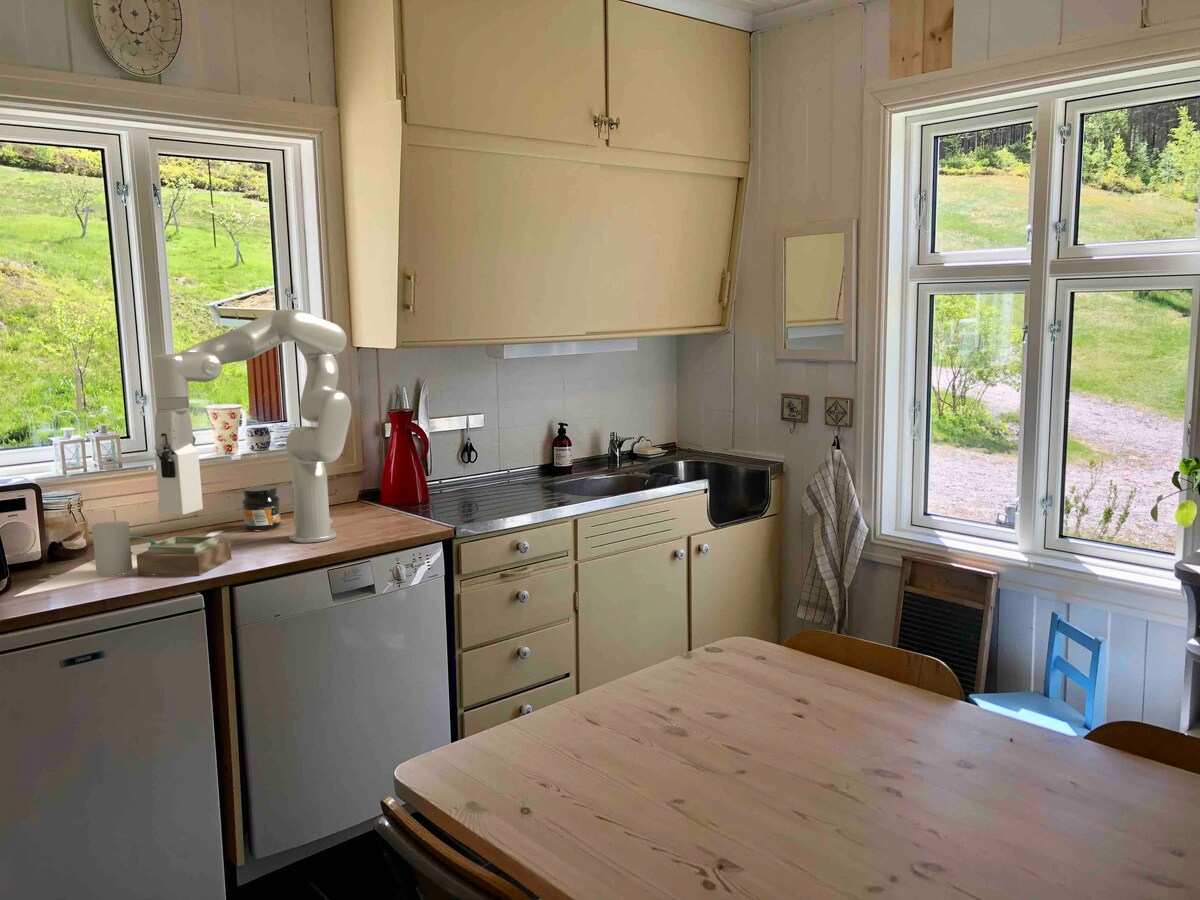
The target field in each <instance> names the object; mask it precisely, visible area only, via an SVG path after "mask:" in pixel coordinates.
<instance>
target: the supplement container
mask: <svg viewBox="0 0 1200 900" xmlns="http://www.w3.org/2000/svg"><path fill="white" fill-rule="evenodd" d="M242 492H243V493H242V496H243V497H244V498H243V499H242V500H241V504H242V512H243V527H244V529H245V530H247V531H249V530H253V531H252V532H255V531H254V530H267V531H270V530H269V529H272V530H275V529H274V528H276V529H278V528H279V527H280V526H281V525H282V520H281V508H280V507H281V506H280V501H281V500H280V497H279V496H278V495H277V494H278V487H277V486H275V485H257V486H250V487H246V488H244V489H242ZM277 527H278V528H277Z"/></svg>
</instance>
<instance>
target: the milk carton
mask: <svg viewBox="0 0 1200 900" xmlns="http://www.w3.org/2000/svg"><path fill="white" fill-rule="evenodd" d="M166 444H167V443H166ZM167 445H168V444H167ZM168 446H169V447H170V445H168ZM170 448H171V447H170ZM170 448H166V449H170ZM167 454H168V456H169V453H167ZM199 456H200V455H199V450H198V449H197V448H196V446H195V445H194V446H193V445H192V444H191V443H190V444H189V445H187V446H185V447H183V448H181V449H179V450H176V451H174V455H173V459H172V461H174V465H175V477H174V478H163V477H162V472H161V462H160V461H159V457H158V455H157V452H155V453H154V458H155V459H154V460H155V469H156V481H157V484H156V485H157V493H158V494H157V495H158V503H159V504H158V507H159V513H160V514H168V515H186V514H190V513H194V512H198V511H201V510H203V509H204V506H203V493H202V492H203V491H202V482H201V479H202V478H201V470H200V469H201V468H200V457H199Z"/></svg>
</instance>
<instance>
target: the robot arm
mask: <svg viewBox="0 0 1200 900" xmlns="http://www.w3.org/2000/svg"><path fill="white" fill-rule="evenodd" d="M345 332H346V331H344V329H343V328H342V327H341V326H339V325H338V324H336V323H334V322H332V321H329V320H326V319H324V318H321V317H319V316H317V315H314V314H312V313H309V312H307V311H304V310H301V309H295V308H293V309H292V308H291V309H277V310H273V311H270V312H268V313H266V314H263V315H262V316H260V317H258V318H256V319H254V320H252V321H250V322H248V323H246V324H243V325H242V326H240V327H237V328H235V329H233V330H230V331H229V330H228V331H226V332H224V333H221V334H220V335H217V336H213V337H211V338H208V339H205V340H203V341H201V342H198V343H195V344H194V345H192V346H190V347H188V348H186V349H184V350H181V351H179V353H165V354H157V355H155V356H153V357H152V362H151V363H152V373H153V385H154V397H155V398H154V399H155V410H156V411H155V417H154V443H155V445H154V449H155V451H156V452H157V455H158V457H159V461H160V462H161V472H162V477H163V478H174V477H175V465H174V461H172V459H173V455H174V451H176V450H179V449H181V448H183V447H185V446H187V445H189V444H190V443H191V444H192V445H193V446H194V447H195V443H196V436H194V434H193V433H194V432H193V425H192V420H191V414H190V397H189V385H188V383H189V382H195V383H208V382H209V383H210V382H213V381H214V380H216V379H217V378H218V377H219V376H220V375H221V373H222V368H223V367H222V366H223V365H226V364H232V363H238V362H243V361H244V362H245V361H249V360H251V359H254V358H256V357H258V356H260V355H262V354H264V353H266V352H268V351H270V350H272V349H274V348H276V347H277V346H279V345H281V344H283V343H286V342H295V344H296V347H297V348H298V350H299V351H300V353H301V354H302V356H303V358H304V360H305V362H306V368H307V369H306V370H307V372H306V376H305V377H306V378H305V382H304V385H303V389H302V394H301V398H300V401H299V402H300V404H299V413H300V416H301V417H302V418H303V419H304V420H305V421H308V422H310V423H316V424H317V425H316V426H309V425H308V426H306V425H305V426H304V425H303V426H298V427H296V428H294V429H292V430H291V431H290V432H289V433H288V435H287V437H286V439H285V440H286V441H285V450H286V454H287V459H288V462H289V468H290V474H291V475H290V476H291V477H290V478H291V488H292V489H291V491H292V504H293V505H292V508H293V522H294V532H293V533H291V534H290V535H289V541H291V542H294V543H302V544H303V543H304V544H306V543H307V544H308V543H310V544H311V543H318V542H325V541H329V540H332V539H334V538H336V536H337V531H336V530H333V529H331V524H333V521H334V520H333V518H331V517H330V507H329V506H330V505H329V503H330V502H329V486H328V473H327V469H326V467H325V464H330V463H333V462H335V461H336V460H337V459H339V457H340V456H341V455H342V452H343V450H344V447H345V444H346V439H347V435H348V431H349V426H350V423H351V422H350V421H351V417H352V409H353V408H352V404H351V400H350V398H349V396H348V395H347V394H346V393H345V392H343V391H341V390H339V389H337V387H338V381H339V373H340V371H339V365H338V363H337V360H336V358H335V356H334V355H338V354H340V353H342V352H343V351H344V350H345V348H346V347H347V342H348V340H347V334H346V333H345ZM166 443H167V444H168V445H170V447H171V448H170V447H169V446H168V445H167V444H166ZM166 448H170V449H166ZM156 452H155V453H156ZM167 453H169V456H168V454H167Z"/></svg>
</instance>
